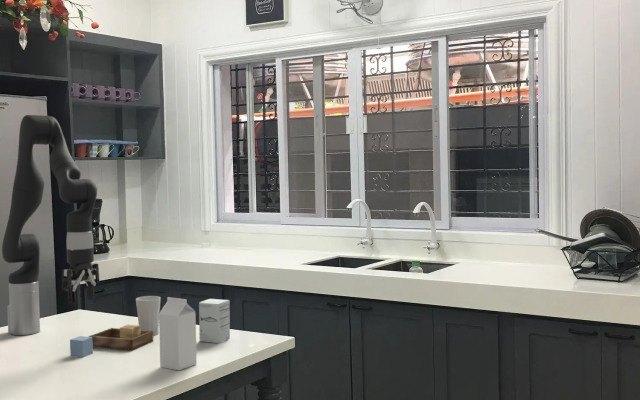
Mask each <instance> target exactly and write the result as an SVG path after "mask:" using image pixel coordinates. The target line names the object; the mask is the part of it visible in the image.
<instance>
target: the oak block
mask: <svg viewBox="0 0 640 400" xmlns="http://www.w3.org/2000/svg"><path fill="white" fill-rule="evenodd" d="M119 329H120V338H124V339H132V338H135V337H137V336H140V335H141V325H139V324H137V325H136V324H126V325H123V326H122V327H119Z"/></svg>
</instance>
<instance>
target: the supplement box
mask: <svg viewBox="0 0 640 400" xmlns="http://www.w3.org/2000/svg"><path fill="white" fill-rule="evenodd" d="M230 304H231V303H230V299H221V298H220V299H217V298H208V299H205V300H202V301H199V303H198V308H199V309H198V313H199V314H198V315H199V317H198V319H199V320H198V321H199V325H198V326H199V327H198V328H199V342H200V343H201V342H205V343H214V344H221V343H224V342H226V341H227V340H229V339H231V338H230V337H231V331H230V329H231V325H230V324H231V322H230V320H231V319H230V315H231V314H230V312H231V311H230Z"/></svg>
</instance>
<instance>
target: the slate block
mask: <svg viewBox="0 0 640 400" xmlns="http://www.w3.org/2000/svg"><path fill="white" fill-rule="evenodd" d="M93 348H94V347H93V340H92V337H88V336H84V335H83V336H82V335H79V336H76V337H74V338H70V339H69V349H70V350H69V351H70V352H69V353H70V354H69V355H70V357H74V358H76V357H77V358H85V357H88V356H91V355H92V354H94V349H93Z"/></svg>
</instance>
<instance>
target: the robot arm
mask: <svg viewBox="0 0 640 400" xmlns="http://www.w3.org/2000/svg"><path fill="white" fill-rule="evenodd" d="M34 145H45V146H46V145H50V146H51V147H52V148H53V149H52V151H51V154H50V156H49V160H48V161H49V169H50V170H51V171H52V173H53V175H54V178H56V181H57V187H58V193H59V198H60V199H61V200H62V201H63V202H64V203H65V204H80V206H79V208H78V209H76V210H73V211H70V212H68V213H67V215H66V244H65V245H66V263H68V265H69V269H68V268H67V269H62V270H61V289H62V291H66V292H67V303H68V305H76V304H77V292H76V290H77V287H78V286H79V285H80V283H83V282H84V283H85V285H86V298H87V299H88V300H92V299H95V295H96V294H95V293H96V291H95V286H96V284H99V283H100V271H99V269H100V268H99V264H98V263H96V262H95V263H93V262H94V261H95V257H94V255H95V254H94V235H93V221H92V220H93V213H94V208H95V204H96V200H97V196H98V187H97V184H96V182H95V181H94V180H93V179H88V178H81V176H82V175H81V169H79V167H78V165H77V163H76V161H74V159H73V157H72V155H71V153H70V150H69V148H68V145H67V142H66V138H65V136H64V134H63V130H62V127H61V126H60V123H59V122H58V120H57V118H55V117H54V116H50V115H38V114H36V115H35V114H25V115H24V116H23V117H22V119H21V122H20V125H19V134H18V150H17V151H18V152H17V161H16V167H15V168H16V171H15V173H14V174H15V175H14V180H13V186H12V191H11V200H10V201H11V203H10V207H9V208H10V209H9V215H8V221H7V224H6V228H5V230H4V231H5V232H4V236H3V239H2V244H1V245H2V247H1V252H2V254H1V255H2V259H3V260H4V261H5V263H9V264H15V263H23V264H22V266H20V268H18V269H17V270H16V271H13V272H11V273H10V274H9V275H8V294H9V295H8V296H9V297H8V298H9V304H7V306H6V307H7V308H6V310H7V331H8V332H7V333H8V334H11V335H13V336H27V335H33V334H37V333H39V332H41V326H40V325H41V323H40V322H41V321H40V319H41V318H40V317H41V316H40V287H39V285H40V284H39V275H40V252H41V251H40V241H39V238H38V237H37V235H35V234H33V233H23V234H22V231H23V229H24V226H25V225H26V223H27V222H28V220H29V219H30V218H31V217H32V216H33V215H34V214H35V213H36V211H37V210H38V209H39V207H40V205H41V204H42V199H43V197H44V195H43V194H44V189H45V181H44V178H43V176H42V173H41V171H40V170H39V168H38V166H37V164H36V163H35V159H34V155H33V153H34V152H33V149H34Z"/></svg>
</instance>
